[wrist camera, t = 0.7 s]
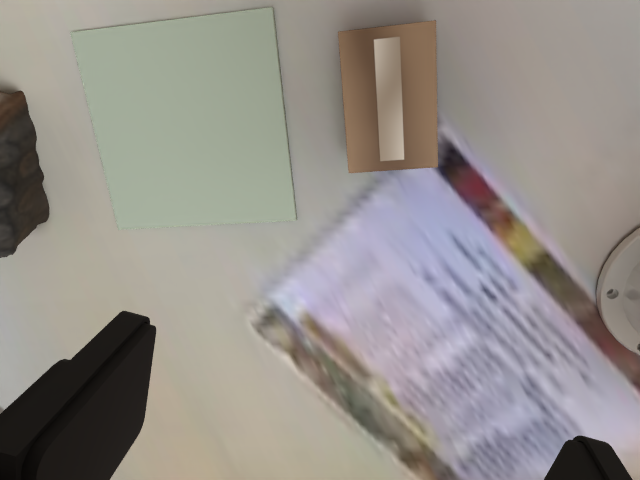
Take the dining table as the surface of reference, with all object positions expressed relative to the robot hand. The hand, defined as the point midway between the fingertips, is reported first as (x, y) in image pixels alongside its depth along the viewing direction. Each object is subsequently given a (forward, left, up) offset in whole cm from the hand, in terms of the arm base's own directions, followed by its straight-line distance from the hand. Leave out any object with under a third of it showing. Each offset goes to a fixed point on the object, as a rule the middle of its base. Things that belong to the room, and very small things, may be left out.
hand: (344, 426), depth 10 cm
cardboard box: (-1, -6, -29) cm, 29 cm away
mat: (+15, -5, -28) cm, 32 cm away
